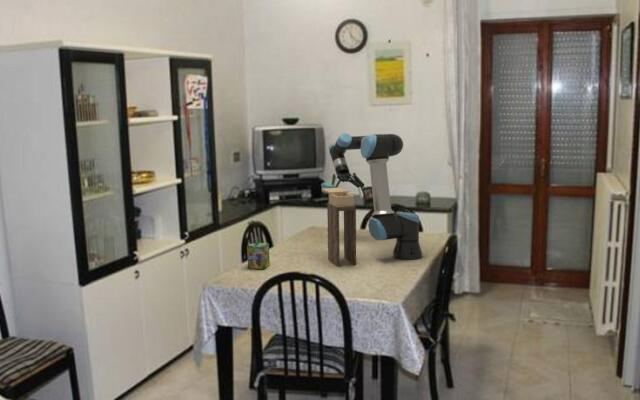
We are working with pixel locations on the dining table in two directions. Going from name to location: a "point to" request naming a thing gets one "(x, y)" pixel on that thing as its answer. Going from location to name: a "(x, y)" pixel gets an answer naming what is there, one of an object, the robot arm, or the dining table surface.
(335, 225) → the walnut stand
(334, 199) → the kraft mailer box
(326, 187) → the mailer lid
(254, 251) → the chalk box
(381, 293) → the dining table surface
